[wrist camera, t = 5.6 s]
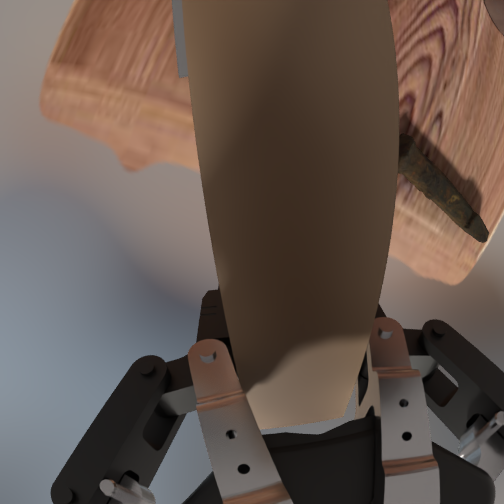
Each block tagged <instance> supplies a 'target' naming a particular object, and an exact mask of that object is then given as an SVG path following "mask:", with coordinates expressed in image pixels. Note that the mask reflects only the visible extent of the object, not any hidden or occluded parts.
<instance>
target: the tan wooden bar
mask: <svg viewBox="0 0 504 504" xmlns="http://www.w3.org/2000/svg"><path fill="white" fill-rule="evenodd" d="M182 10H183V24H184V36H185V48H186V58H187V69H188V78H189V88H190V96H191V105H192V114H193V122H194V130H195V137H196V145H197V152H198V159H199V166H200V173H201V180H202V187H203V193H204V199H205V206H206V213H207V219H208V225H209V231H210V236H211V242H212V248H213V254H214V260H215V265H216V271H217V276H218V281H219V287H220V292H221V297H222V303H223V308H224V313H225V318H226V323H227V328H228V333H229V337H230V342H231V347H232V352H233V356H234V361H235V365H236V370H237V374H238V379H239V383H240V385H241V388H242V390H243V392H244V393H245V395H246V397H247V399H248V402H249V405H250V407H251V410H252V412H253V415H254V417H255V420H256V422H257V425H258V427H259V429H269V428H279V427H287V426H295V425H302V424H308V423H314V422H320V421H325V420H330V419H335V418H340V417H343V416H344V413H345V411H346V408H347V405H348V402H349V400H350V397H351V395H352V392H353V389H354V386H355V383H356V380H357V377H358V374H359V371H360V368H361V365H362V362H363V359H364V355H365V352H366V349H367V345H368V342H369V338H370V334H371V331H372V327H373V323H374V319H375V315H376V311H377V307H378V303H379V298H380V294H381V289H382V284H383V279H384V274H385V269H386V263H387V258H388V252H389V246H390V239H391V232H392V225H393V217H394V209H395V199H396V188H397V175H398V157H399V92H398V75H397V63H396V53H395V45H394V37H393V30H392V23H391V17H390V12H389V6H388V1H387V0H182Z"/></svg>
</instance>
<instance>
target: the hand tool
mask: <svg viewBox="0 0 504 504" xmlns="http://www.w3.org/2000/svg"><path fill="white" fill-rule="evenodd" d="M398 173H400V174H403V175H404V176H405V177H406V178H407V179H408V180H409V181H410V183H412V184H413V185H415V187H416V188H417V189H418V190H419V191H422V192H423V193H424V195H425V196H426V197H427V198H428V199H431V200H432V201H433V202H434V203H435V204H437V205H438V206H439V207H440V208H441V209H442V210H443V211H444V212H445V213H446V214H447V215H448V216H449V217H450V218H451V219H452V220H453V221H454V222H455V223H456V224H457V225H458V226H459V227H461V228H462V229H463V230H464V231H465V232H466V233H468V234H469V235H471V236H472V237H473V238H475V239H476V240H477V241H479V242H482V243H484V242H486V241H487V238H488V235H489V232H488V230H487V228H486V226H485V224H484V222H483V220H482V219H481V217H480V216H479V215H478V214H477V213H476V212H475V211H473V209H472V208H471V206H470V205H469V204H468V203H467V202H466V201H465V199H464V198H463V197H462V195H461V194H460V193H459V192H458V191H457V189H456V188H455V187H454V186H453V184H452V183H451V182H450V181H449V180H448V179H447V178H446V176H445V175H444V174H443V173H442V172H441V171H440V170H439V169H438V168H437V167H436V166H435V165H434V164H433V163H432V162H431V161H430V160H429V159H428V158H427V157H426V156H425V155H424V154H423V153H422V152H421V151H420V150H419V149H418V148H417V147H416V144H415V141H414V139H413V138H412V137H411V136H409V135H404V134H401V135H400V136H399V157H398Z"/></svg>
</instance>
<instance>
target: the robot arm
mask: <svg viewBox="0 0 504 504" xmlns="http://www.w3.org/2000/svg"><path fill="white" fill-rule="evenodd" d="M484 2H485V5H486V8H487V10H488V12H489V14H490V16H491V18H492V20H493V22H494V23H495V25H496V27H497V28H498V29H499V31H500V32H501V33H502V34H503V35H504V0H484ZM439 365H441V366H442V367H443V368H444V369H445V370H446V371H447V372H448V373H449V374H450V375H451V376H452V377H453V378H454V379H455V380H456V381H457V382H458V386H459V387H457V386H456V385H455V384H453V383H452V382H451V381H450V380H449V379H448V378H447V377H446V376H445V375H444V374H443V373H442V372H441V371H440V370H439V369H438V366H439ZM355 385H356V413H355V418H354V420H352V421H349V422H347V423H345V424H343V425H341V426H338V427H336V428H334V429H332V430H330V431H327V432H325V433H323V434H319V435H316V434H299V433H287V432H285V433H277V434H266V435H262V434H261V432H260V430H259V427H258V425H257V422H256V420H255V417H254V415H253V412H252V410H251V407H250V405H249V402H248V399H247V397H246V395H245V393H244V392H243V390H242V388H241V385H240V383H239V380H238V374H237V370H236V365H235V361H234V356H233V352H232V347H231V342H230V337H229V333H228V328H227V323H226V318H225V313H224V308H223V303H222V297H221V292H220V287H218V290H210V291H208V292H207V293H206V294H205V296H204V297H203V299H202V305H201V312H200V319H199V326H198V334H197V341H196V343H195V344H194V345H193V346H192V347H191V348H190V350H189V352H188V354H187V355H186V356H184V357H182V358H179V359H177V360H173V361H169V362H166V363H165V361H164V360H163V359H162V358H160V357H158V356H154V355H148V356H144V357H141V358H139V359H138V360H136V361H135V362H134V363H133V364H132V366H131V367H130V369H129V370H128V372H127V373H126V374H125V376H124V377H123V379H122V380H121V381H120V383H119V384H118V386H117V387H116V389H115V390H114V392H113V393H112V394H111V396H110V397H109V399H108V400H107V402H106V403H105V405H104V406H103V408H102V409H101V411H100V412H99V414H98V415H97V417H96V418H95V420H94V421H93V423H92V424H91V426H90V427H89V429H88V430H87V432H86V433H85V435H84V436H83V438H82V439H81V441H80V442H79V444H78V445H77V447H76V448H75V450H74V452H73V453H72V455H71V456H70V458H69V459H68V461H67V462H66V464H65V466H64V467H63V469H62V470H61V472H60V474H59V475H58V477H57V478H56V480H55V482H54V483H53V485H52V488H51V498H52V502H53V504H155V503H156V502H155V497H154V495H153V493H152V492H151V490H150V489H148V487H149V486H150V484H151V482H152V480H153V478H154V476H155V474H156V472H157V470H158V468H159V466H160V464H161V462H162V461H163V459H164V457H165V455H166V453H167V451H168V449H169V447H170V445H171V443H172V441H173V439H174V437H175V435H176V433H177V431H178V429H179V427H180V425H181V423H182V422H183V420H184V418H185V416H186V414H187V413H188V412H192V411H195V410H197V413H198V417H199V421H200V425H201V429H202V433H203V437H204V440H205V444H206V448H207V452H208V455H209V459H210V462H211V465H212V469H213V471H212V472H211V474H210V475H209V476H208V477H207V478H206V479H205V480H204V481H203V482H202V483H201V484H200V486H199V487H198V488H197V489H196V490H195V491H194V492H193V493H192V494H191V495H190V496H189V497H188V498H187V499H186V500H185V501H184V502H183V503H182V504H494V500H495V486H494V481H495V480H496V478H497V477H498V476H499V475H500V473H501V472H502V470H503V469H504V373H503V371H501V370H500V369H499V368H498V367H497V366H496V365H495V364H494V363H493V362H491V361H490V360H489V359H488V358H487V357H486V356H485V355H484V354H483V353H481V352H480V351H479V350H478V349H477V348H476V347H474V346H473V345H472V344H471V343H470V342H468V341H467V340H466V339H465V338H464V337H463V336H462V335H460V334H459V333H458V332H457V331H456V330H454V329H453V328H452V327H451V326H449V325H448V324H447V323H445V322H443V321H441V320H429V321H427V322H426V323H425V324H424V326H423V328H422V330H415V329H403V328H402V326H401V325H400V324H399V323H398V322H397V321H396V320H394V319H392V318H387V317H386V315H385V313H384V312H383V310H382V308H381V307H380V305H379V303H378V307H377V311H376V315H375V319H374V323H373V327H372V331H371V334H370V338H369V342H368V345H367V349H366V352H365V355H364V359H363V362H362V365H361V368H360V371H359V374H358V377H357V380H356V383H355ZM427 406H428V407H429V408H430V409H431V410H432V411H433V412H434V413H435V415H436V416H437V417H438V418H439V419H440V420H441V421H442V422H443V423H444V424H445V425H446V426H447V427H448V428H449V430H450V431H451V432H452V433H453V434H454V435H455V436H456V437H457V438H458V439H459V448H458V455H459V456H460V457H459V456H457V455H455V454H453V453H451V452H450V451H448V450H446V449H444V448H443V447H441V446H439V445H437V444H436V443H434V442H432V441H431V435H430V434H431V433H430V425H429V418H428V411H427ZM461 457H464V458H465V460H464V459H462V458H461Z"/></svg>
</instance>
